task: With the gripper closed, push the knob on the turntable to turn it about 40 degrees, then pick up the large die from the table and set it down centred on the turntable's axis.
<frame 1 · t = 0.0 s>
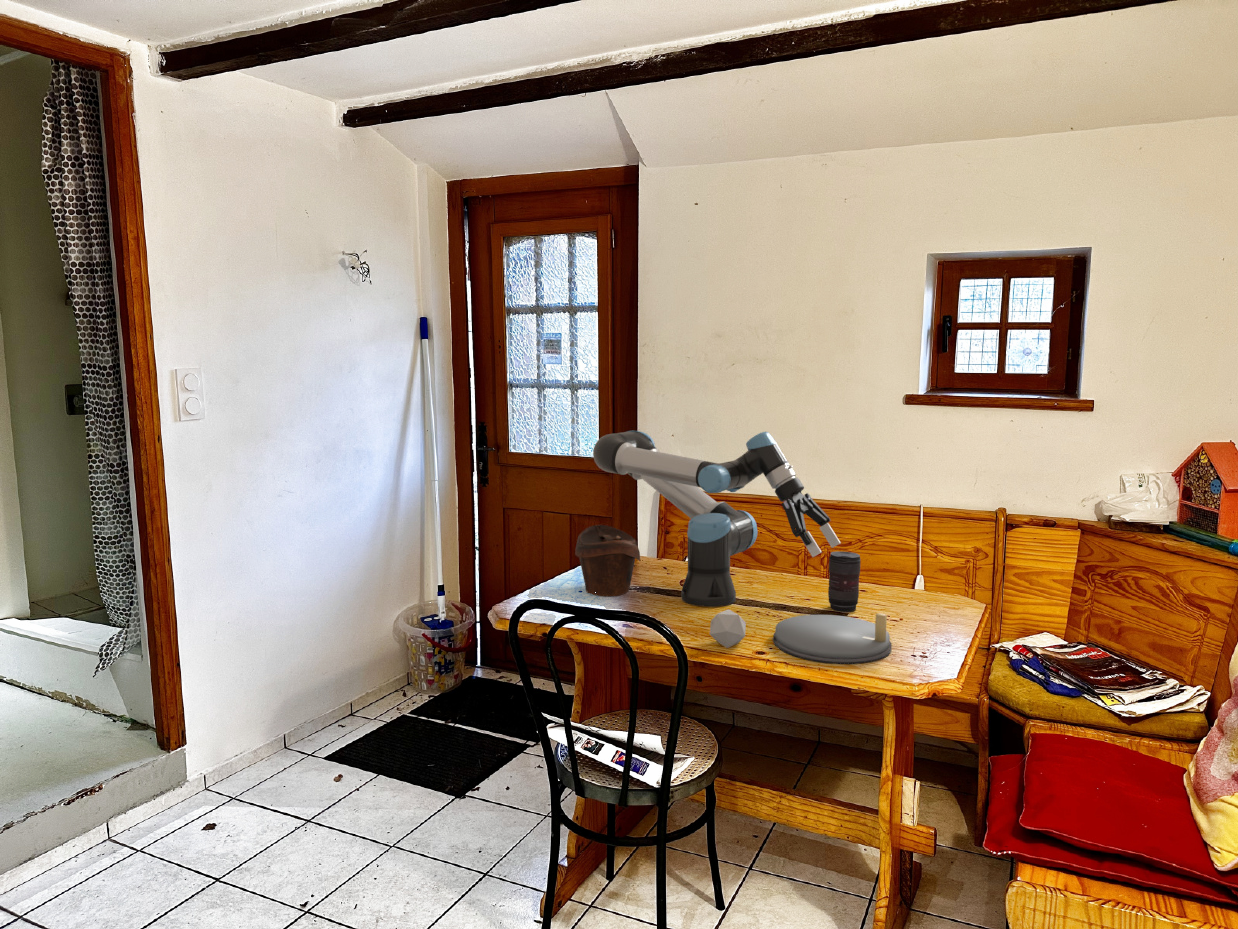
hand: (827, 550, 230), 15 cm above the table, tool tilted 35°, fingers open, 13 cm apart
camera lens: (843, 609, 229), on the table
brown tapered cup shape: (608, 591, 246), on the table
turntable: (831, 623, 200), point 5 cm above the table, hinge at 0.0°
turntable base: (831, 644, 201), on the table
die: (727, 645, 201), on the table
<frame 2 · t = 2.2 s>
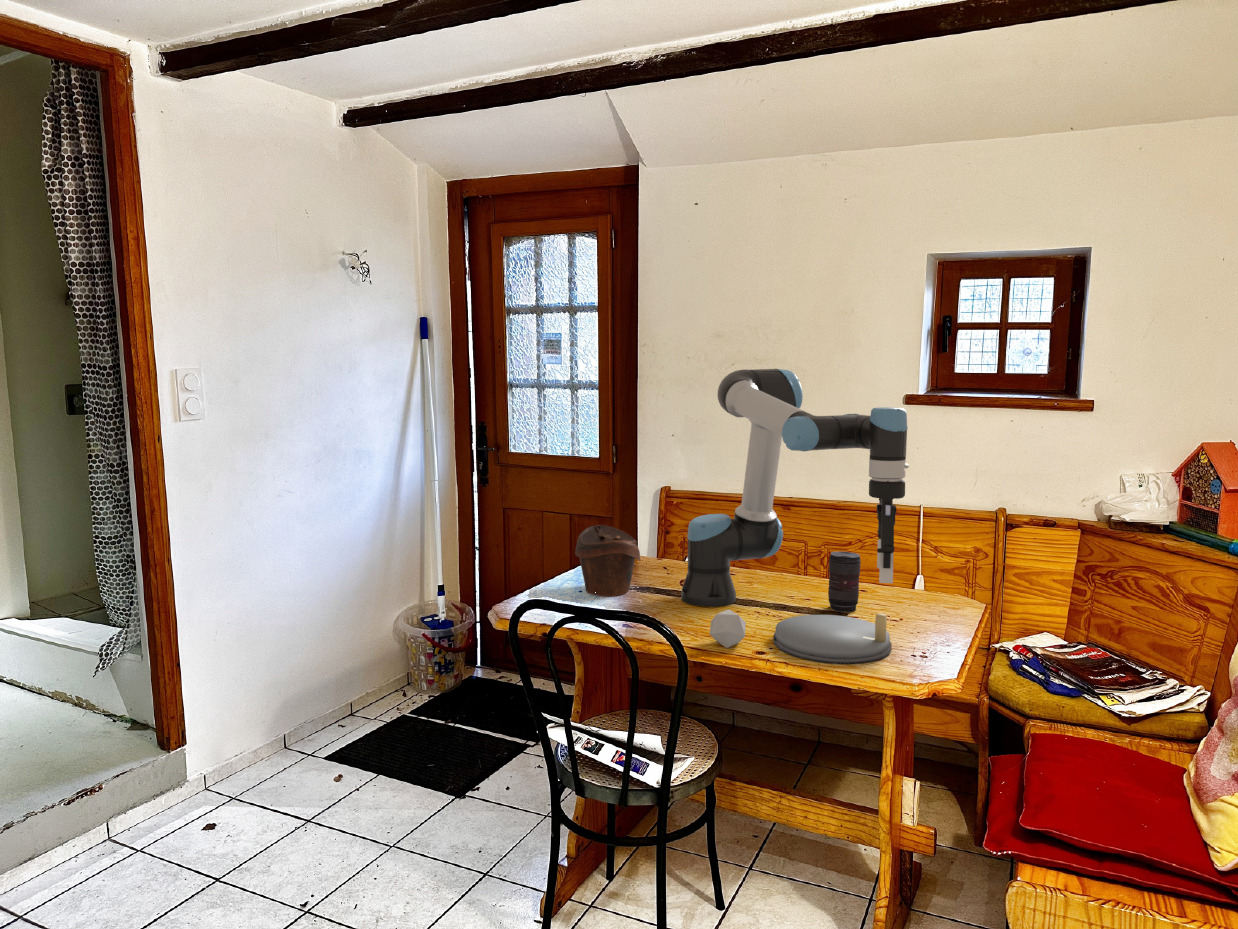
hand: (884, 575, 187), 20 cm above the table, tool pointing down, fingers open, 13 cm apart
nothing on the table moved.
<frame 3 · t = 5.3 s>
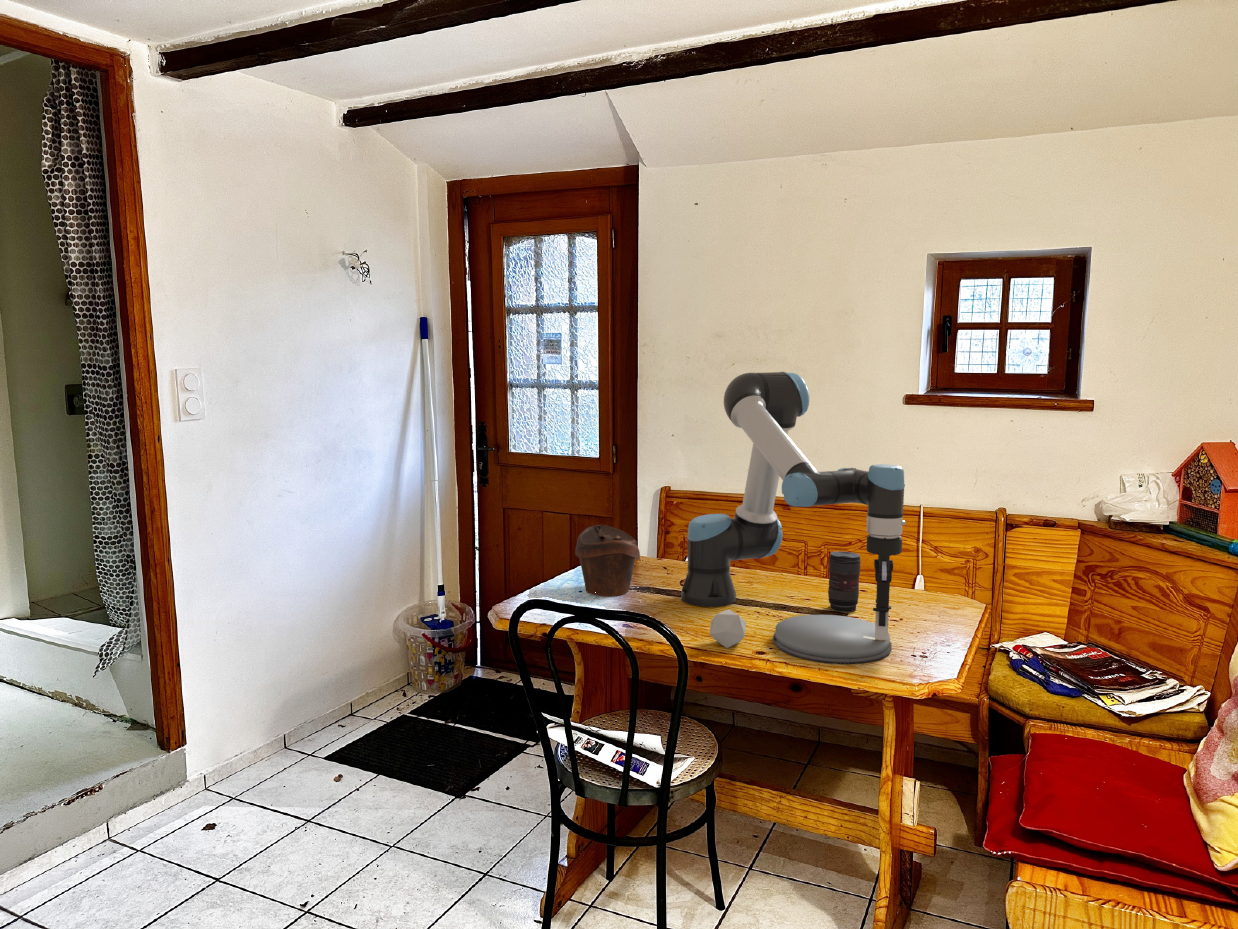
hand: (881, 638, 191), 4 cm above the table, tool pointing down, fingers closed
turntable: (831, 623, 200), point 5 cm above the table, hinge at 2.4°, touching gripper
everything else where it was.
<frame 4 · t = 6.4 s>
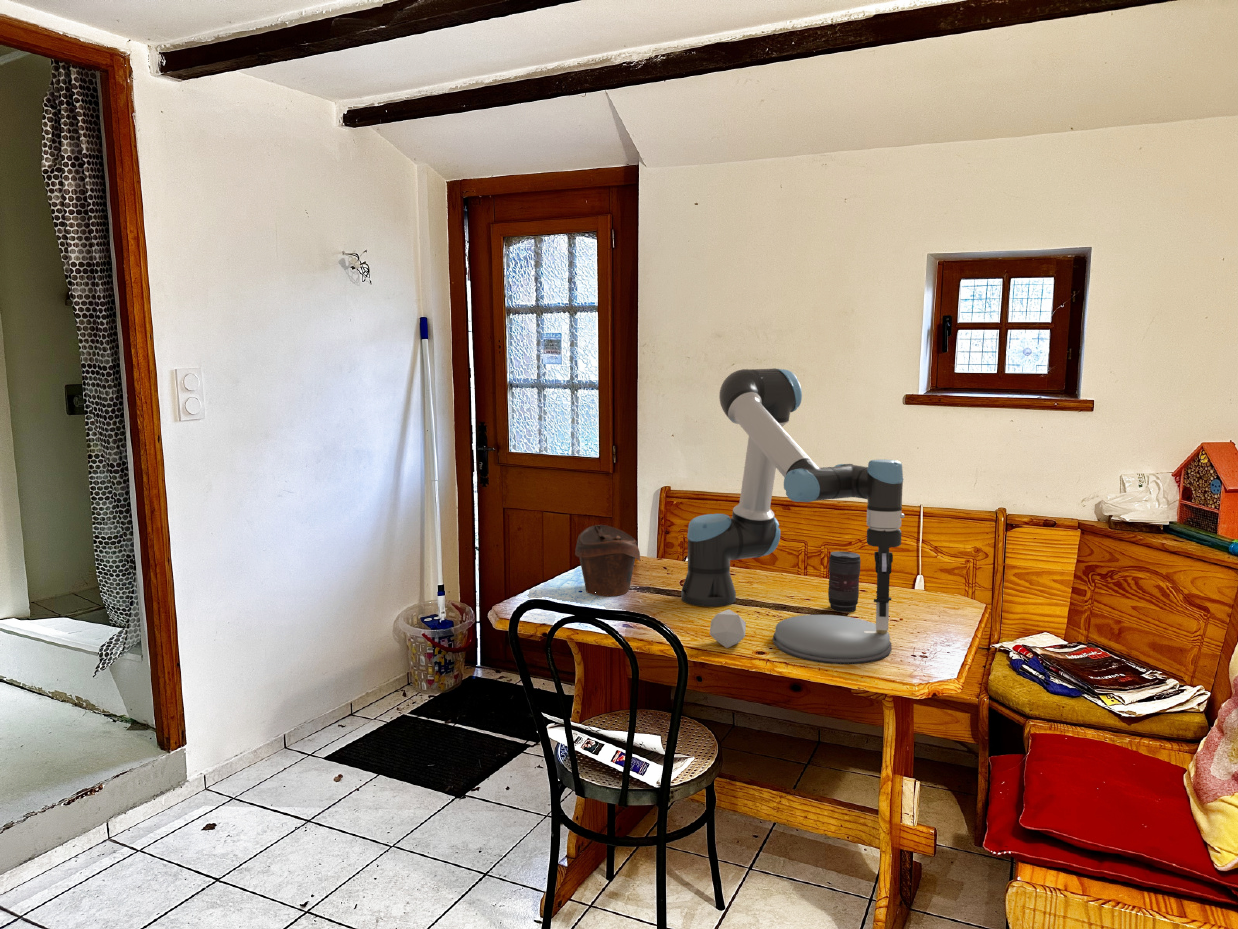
hand: (882, 629, 196), 5 cm above the table, tool pointing down, fingers closed
turntable: (831, 623, 200), point 5 cm above the table, hinge at 30.5°, touching gripper
everything else where it was.
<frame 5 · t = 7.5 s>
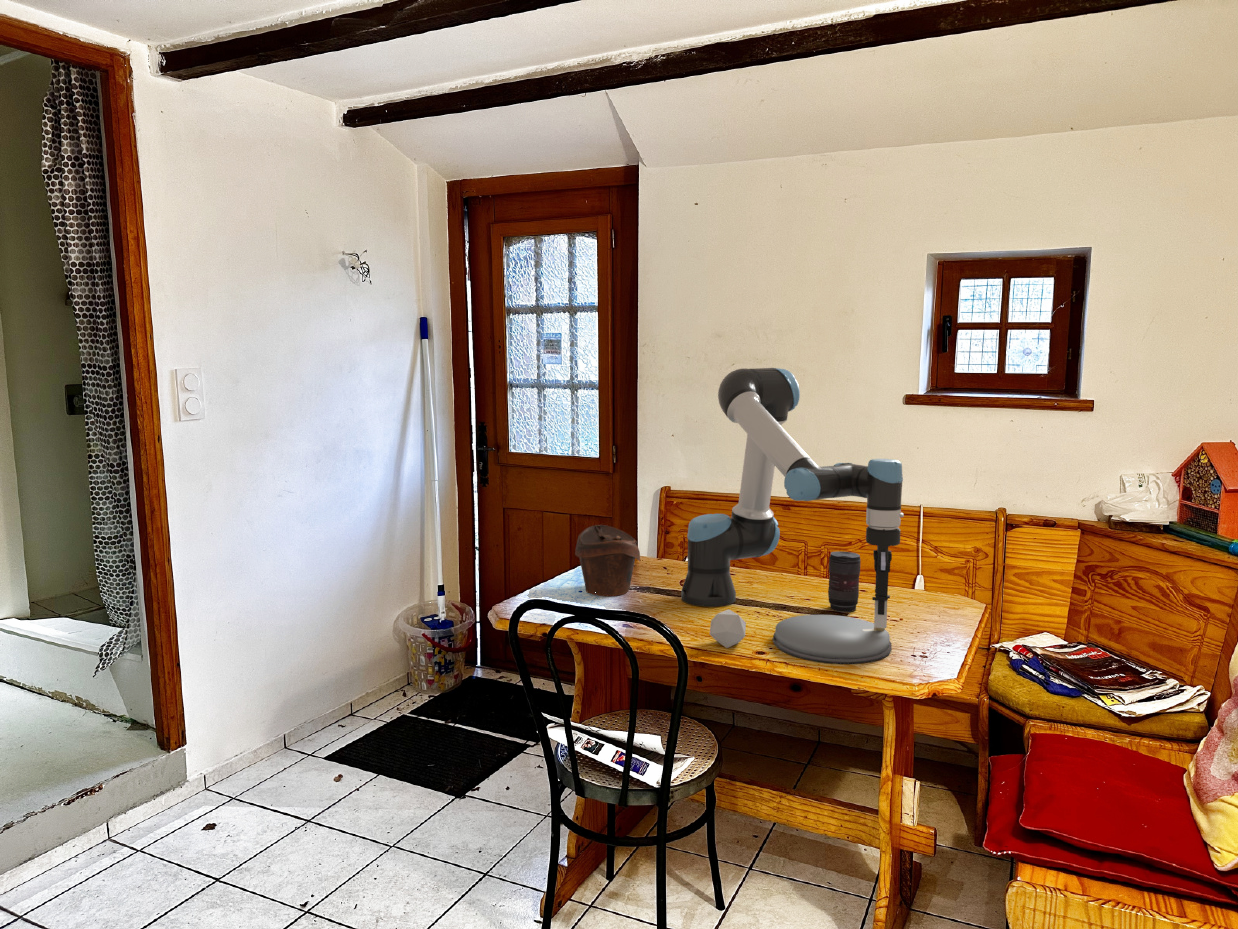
hand: (880, 626, 198), 5 cm above the table, tool pointing down, fingers closed
turntable: (831, 623, 200), point 5 cm above the table, hinge at 39.9°, touching gripper
everything else where it was.
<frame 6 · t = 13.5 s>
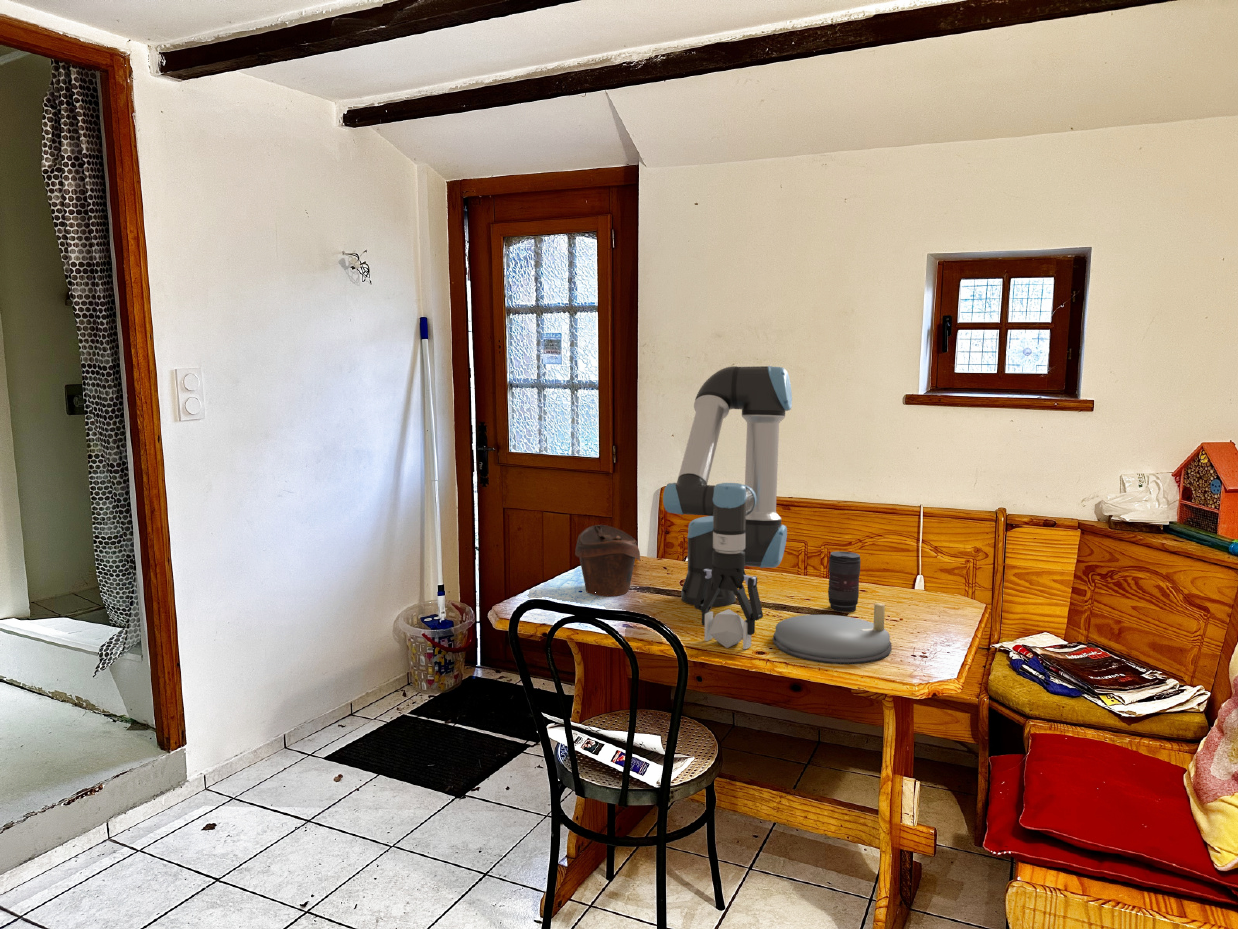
hand: (727, 643, 201), 0 cm above the table, tool pointing down, fingers closed on die, 9 cm apart
turntable: (831, 623, 200), point 5 cm above the table, hinge at 41.7°
die: (727, 645, 201), on the table, touching gripper
everything else where it was.
when the fingers open (5 cm above the table, at t = 19.8 s): die drops 2 cm, resting on turntable.
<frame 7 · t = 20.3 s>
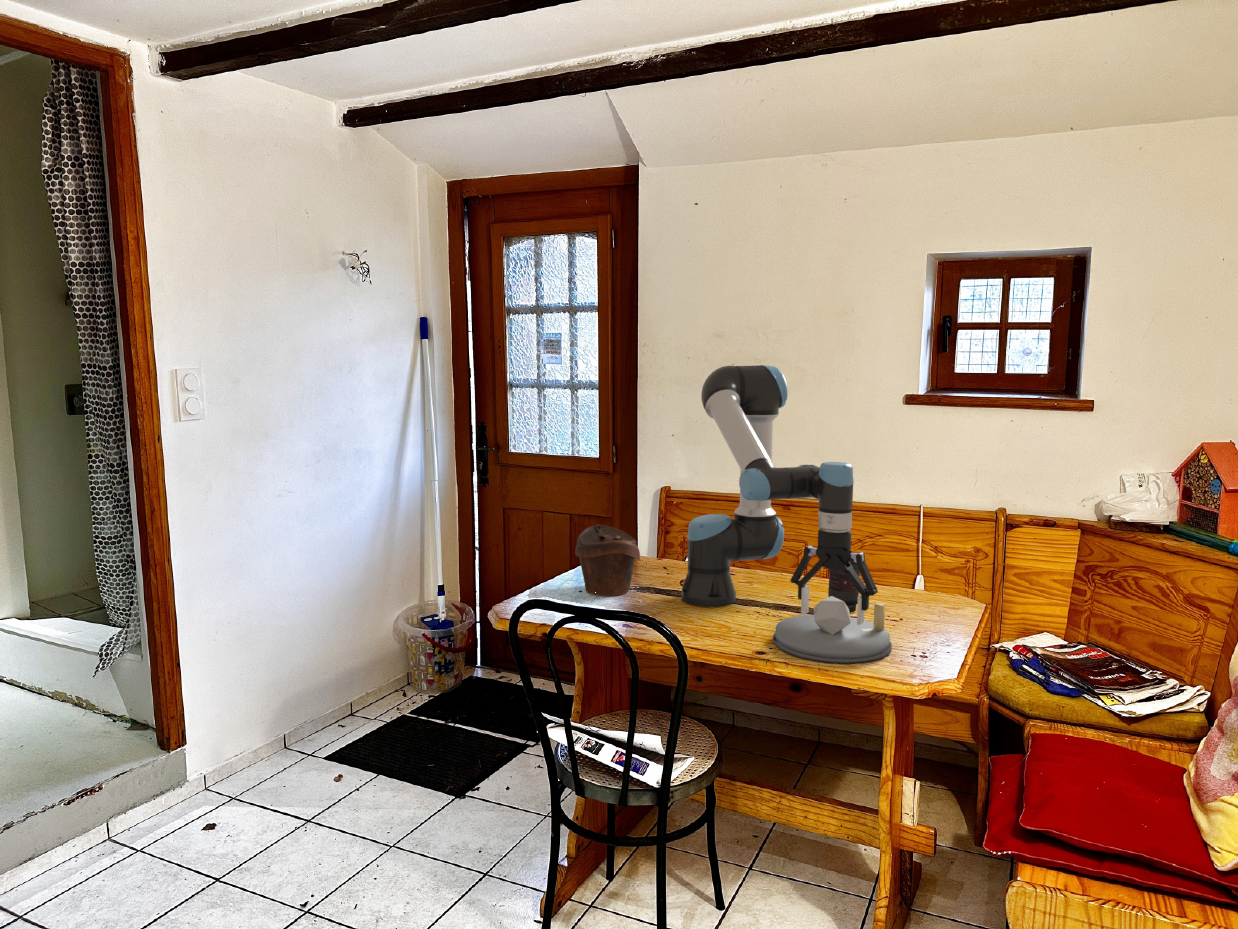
hand: (832, 618, 200), 6 cm above the table, tool pointing down, fingers open, 13 cm apart
turntable: (831, 623, 200), point 5 cm above the table, hinge at 41.7°, touching die
die: (831, 631, 200), point 3 cm above the table, touching turntable
everything else where it was.
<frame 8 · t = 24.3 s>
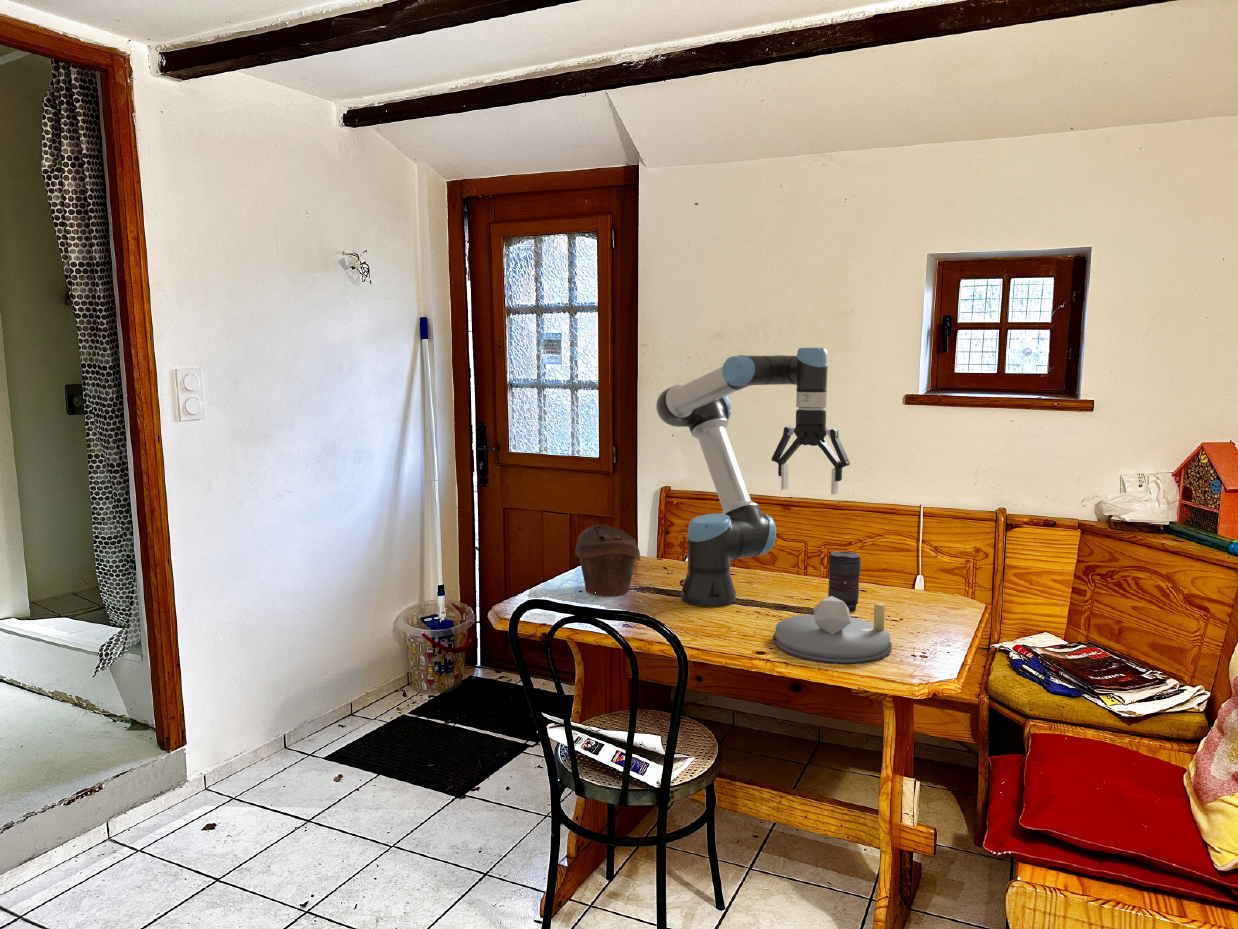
hand: (809, 491, 219), 33 cm above the table, tool pointing down, fingers open, 13 cm apart
nothing on the table moved.
at the end: turntable at +42° (first picture: +0°); die 0.1 cm from the turntable (horizontally); die tilted 0° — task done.
